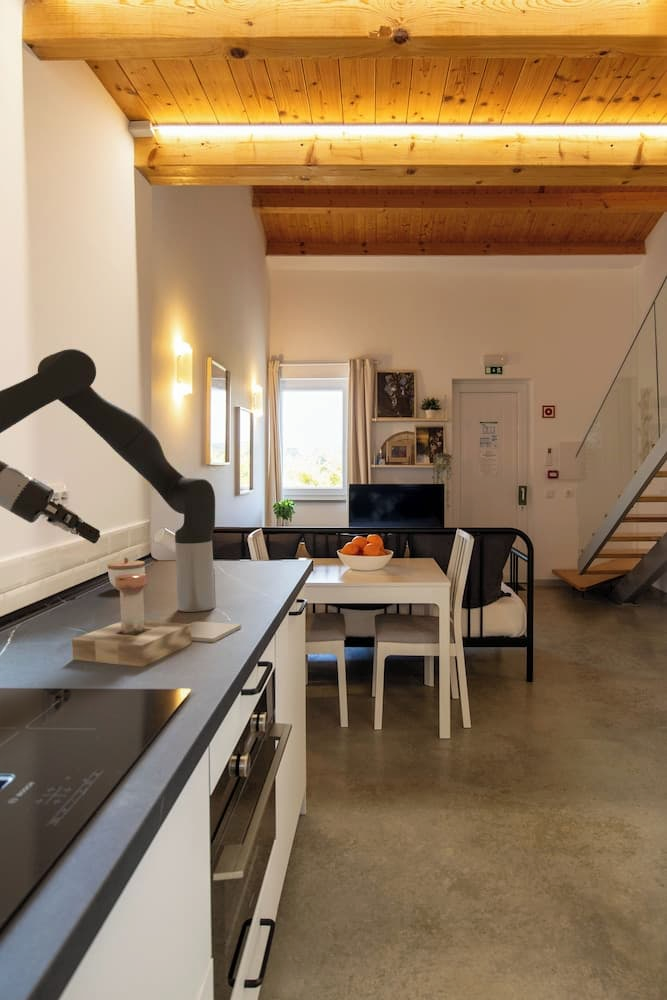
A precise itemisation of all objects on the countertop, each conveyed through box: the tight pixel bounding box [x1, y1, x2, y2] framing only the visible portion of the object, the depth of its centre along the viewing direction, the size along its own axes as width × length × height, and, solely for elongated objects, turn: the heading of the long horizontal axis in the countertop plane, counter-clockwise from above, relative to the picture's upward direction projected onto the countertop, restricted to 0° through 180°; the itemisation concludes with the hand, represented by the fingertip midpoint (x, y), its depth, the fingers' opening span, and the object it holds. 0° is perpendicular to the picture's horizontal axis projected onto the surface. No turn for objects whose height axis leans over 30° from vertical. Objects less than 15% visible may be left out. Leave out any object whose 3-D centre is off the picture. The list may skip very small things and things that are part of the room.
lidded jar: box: [107, 557, 146, 591], centre depth 198 cm, size 11×11×9 cm
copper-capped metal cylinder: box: [114, 573, 148, 636], centre depth 130 cm, size 6×6×15 cm
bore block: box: [71, 620, 192, 668], centre depth 130 cm, size 16×16×4 cm
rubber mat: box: [189, 620, 242, 643], centre depth 143 cm, size 12×12×1 cm
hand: (97, 538), depth 128 cm, fingers open, 8 cm apart
